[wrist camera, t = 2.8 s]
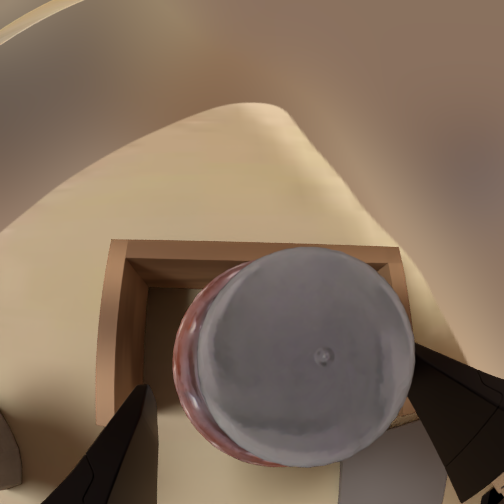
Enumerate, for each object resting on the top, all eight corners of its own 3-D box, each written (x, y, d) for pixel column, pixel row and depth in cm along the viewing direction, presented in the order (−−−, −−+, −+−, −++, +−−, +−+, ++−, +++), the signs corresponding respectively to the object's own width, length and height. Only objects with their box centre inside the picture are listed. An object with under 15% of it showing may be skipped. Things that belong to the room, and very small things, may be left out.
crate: (374, 406, 16) (417, 411, 11) (128, 413, 14) (96, 424, 10) (363, 275, 20) (398, 247, 15) (136, 272, 18) (111, 239, 14)
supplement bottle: (290, 302, 18) (391, 179, 7) (321, 398, 16) (478, 418, 4) (188, 329, 17) (114, 233, 5) (217, 430, 15) (203, 548, 3)
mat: (438, 505, 12) (441, 506, 11) (333, 545, 11) (335, 548, 10) (449, 408, 16) (452, 408, 15) (340, 439, 15) (343, 440, 14)
